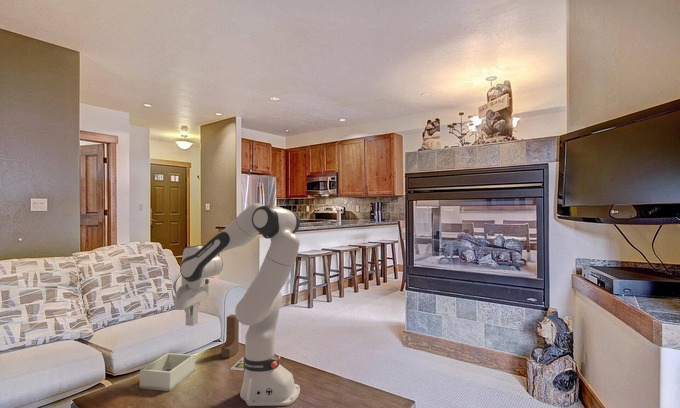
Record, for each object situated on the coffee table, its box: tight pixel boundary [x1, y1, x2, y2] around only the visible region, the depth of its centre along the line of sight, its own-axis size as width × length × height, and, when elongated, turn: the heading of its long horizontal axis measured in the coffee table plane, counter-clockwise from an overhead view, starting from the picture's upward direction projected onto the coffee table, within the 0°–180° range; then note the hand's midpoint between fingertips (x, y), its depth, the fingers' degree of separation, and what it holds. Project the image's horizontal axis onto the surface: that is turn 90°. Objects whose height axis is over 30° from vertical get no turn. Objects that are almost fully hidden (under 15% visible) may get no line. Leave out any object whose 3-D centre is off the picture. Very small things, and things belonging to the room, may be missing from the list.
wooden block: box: [220, 313, 240, 359], centre depth 170 cm, size 9×4×18 cm, turn 168°
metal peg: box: [185, 303, 199, 327], centre depth 152 cm, size 4×4×9 cm
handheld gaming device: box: [230, 356, 244, 372], centre depth 160 cm, size 9×1×15 cm
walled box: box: [139, 352, 196, 392], centre depth 144 cm, size 13×17×7 cm
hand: (191, 314), depth 152 cm, fingers closed on metal peg, 3 cm apart
